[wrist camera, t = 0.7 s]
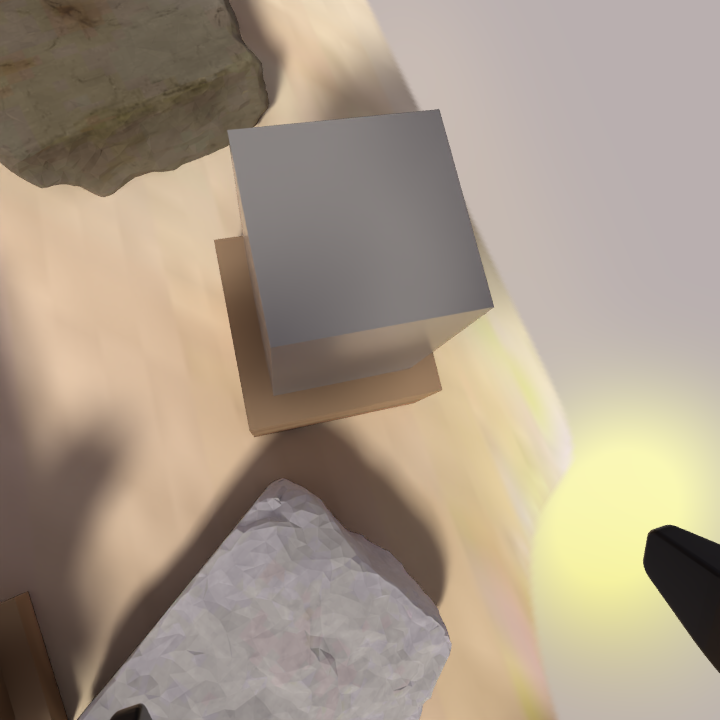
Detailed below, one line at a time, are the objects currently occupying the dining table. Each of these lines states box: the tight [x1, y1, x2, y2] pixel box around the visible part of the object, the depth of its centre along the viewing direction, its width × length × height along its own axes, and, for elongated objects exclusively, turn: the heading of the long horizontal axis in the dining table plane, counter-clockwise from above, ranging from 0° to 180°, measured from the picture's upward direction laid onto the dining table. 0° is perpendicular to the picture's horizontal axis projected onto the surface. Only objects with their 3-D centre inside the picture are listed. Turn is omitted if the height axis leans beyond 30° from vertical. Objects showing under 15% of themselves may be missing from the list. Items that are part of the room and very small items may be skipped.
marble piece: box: [0, 0, 269, 197], centre depth 22 cm, size 17×15×4 cm
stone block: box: [77, 478, 451, 720], centre depth 19 cm, size 12×5×10 cm
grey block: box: [227, 109, 494, 396], centre depth 15 cm, size 5×5×8 cm
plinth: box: [214, 236, 442, 437], centre depth 21 cm, size 7×7×4 cm
